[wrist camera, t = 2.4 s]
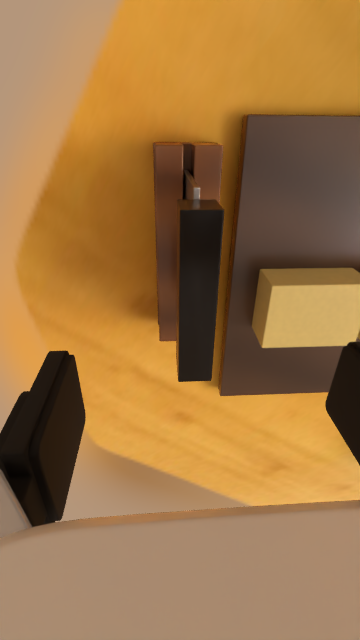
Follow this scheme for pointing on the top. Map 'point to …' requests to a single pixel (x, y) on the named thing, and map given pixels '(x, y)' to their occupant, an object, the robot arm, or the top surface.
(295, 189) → the board
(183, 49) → the top surface
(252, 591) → the robot arm
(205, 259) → the black and grey block
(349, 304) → the butter block
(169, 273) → the knife holder
